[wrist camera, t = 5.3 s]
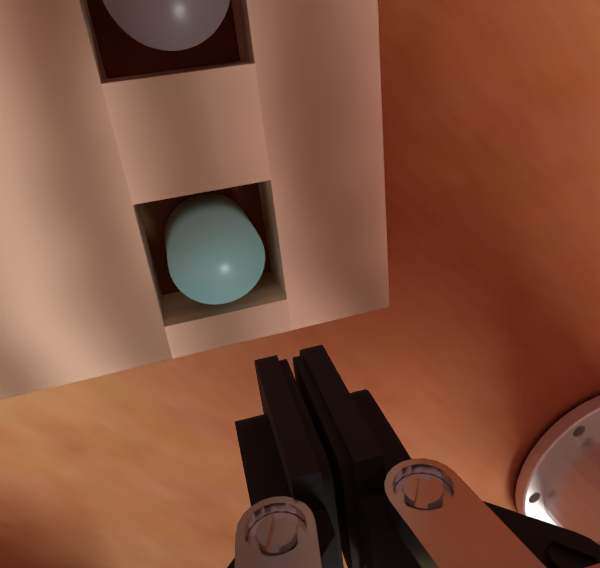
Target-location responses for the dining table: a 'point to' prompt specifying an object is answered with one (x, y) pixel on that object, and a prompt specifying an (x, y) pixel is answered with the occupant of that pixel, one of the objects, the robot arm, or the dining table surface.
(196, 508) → the dining table surface
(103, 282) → the control panel
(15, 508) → the dining table surface
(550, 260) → the dining table surface
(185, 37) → the charcoal button
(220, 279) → the teal button
